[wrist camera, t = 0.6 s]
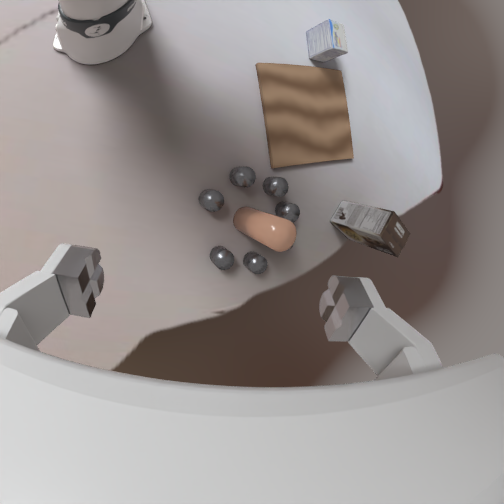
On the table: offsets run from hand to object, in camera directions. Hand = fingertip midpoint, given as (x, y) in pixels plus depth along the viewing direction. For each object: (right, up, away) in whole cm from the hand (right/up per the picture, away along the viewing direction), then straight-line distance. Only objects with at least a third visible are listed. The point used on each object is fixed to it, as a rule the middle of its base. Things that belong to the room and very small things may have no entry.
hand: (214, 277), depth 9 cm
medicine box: (+15, +48, +40) cm, 64 cm away
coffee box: (+24, +9, +56) cm, 61 cm away
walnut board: (+13, +30, +44) cm, 55 cm away
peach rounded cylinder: (0, +7, +44) cm, 45 cm away
